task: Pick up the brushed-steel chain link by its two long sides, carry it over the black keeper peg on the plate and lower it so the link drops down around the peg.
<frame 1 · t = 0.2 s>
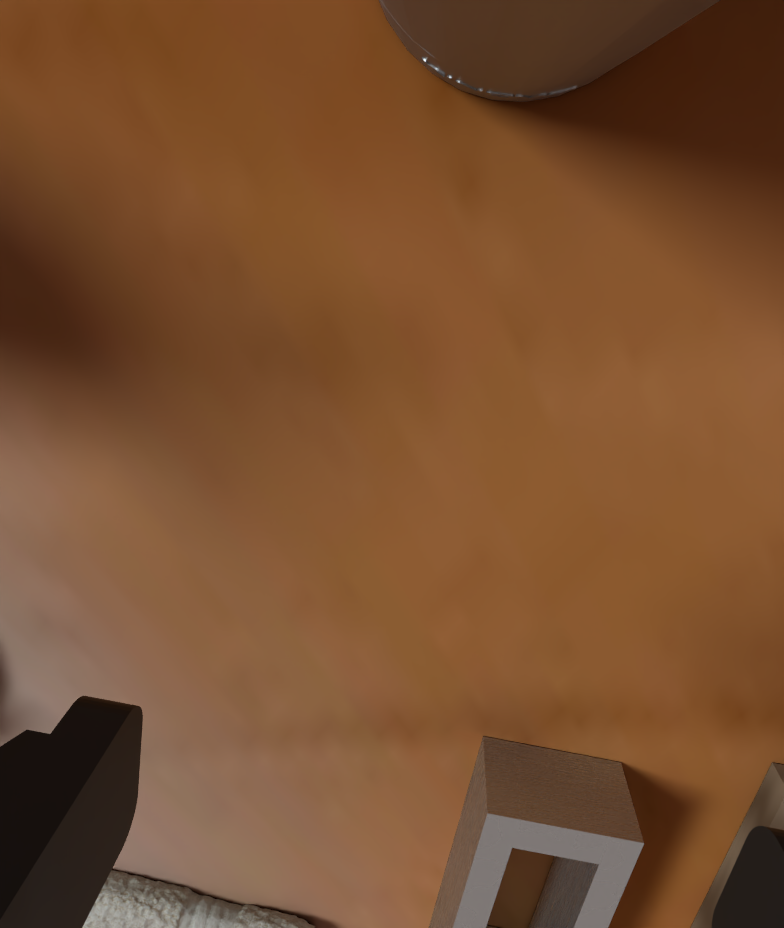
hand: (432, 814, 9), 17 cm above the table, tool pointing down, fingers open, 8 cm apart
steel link: (516, 855, 33), on the table
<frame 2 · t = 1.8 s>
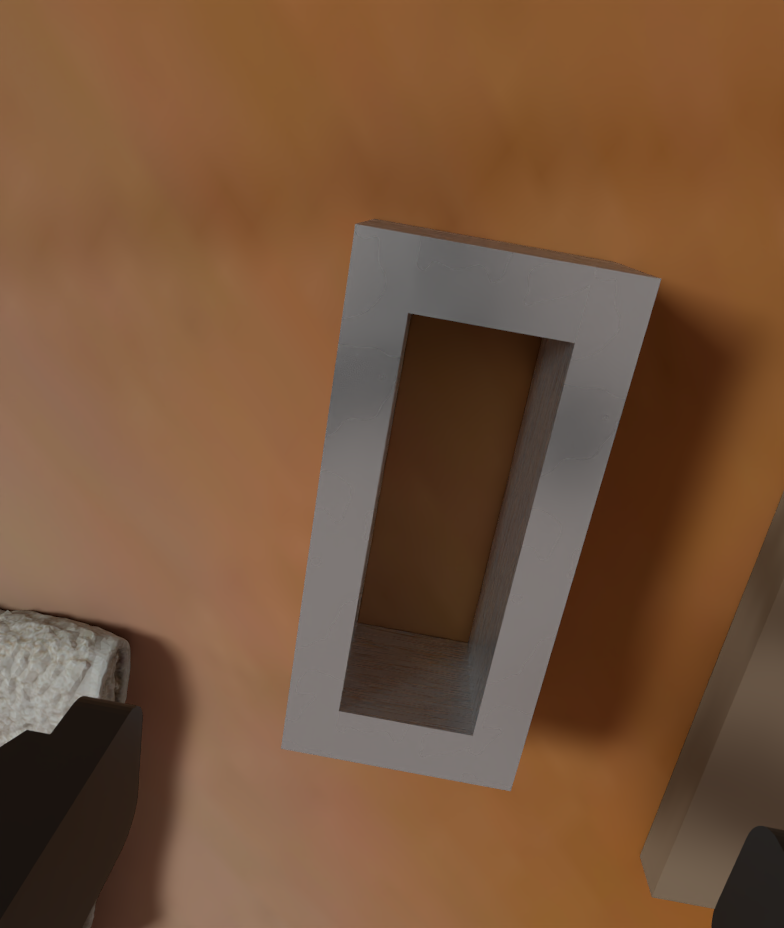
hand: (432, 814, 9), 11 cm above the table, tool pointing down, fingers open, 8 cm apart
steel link: (444, 481, 20), on the table
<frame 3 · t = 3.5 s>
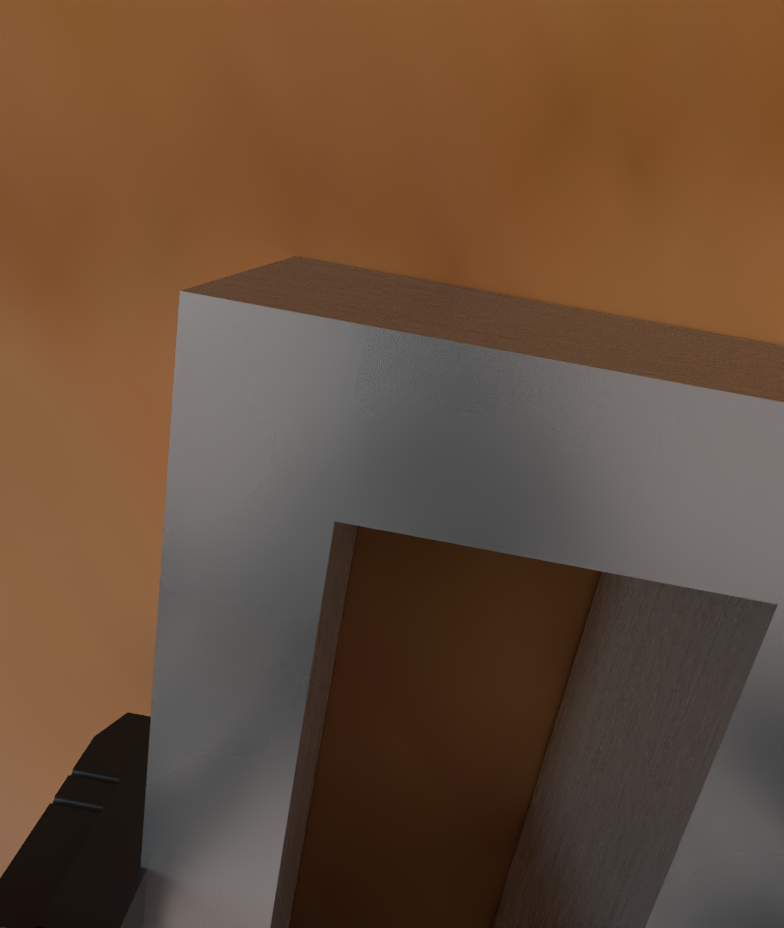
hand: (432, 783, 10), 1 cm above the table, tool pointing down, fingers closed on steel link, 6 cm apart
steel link: (436, 730, 11), on the table, touching gripper
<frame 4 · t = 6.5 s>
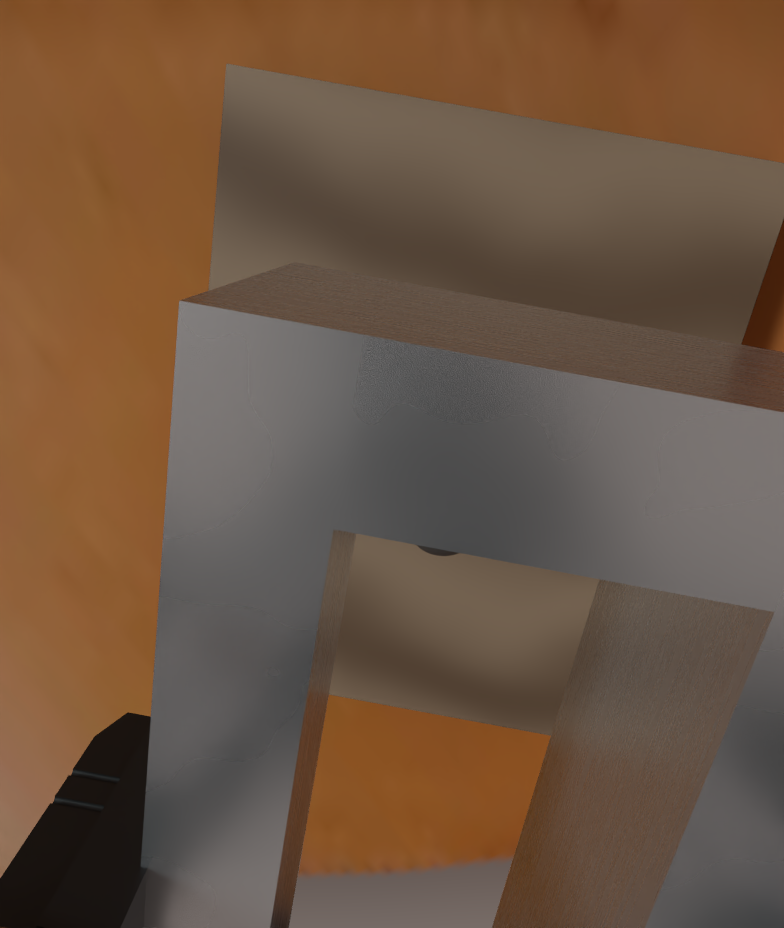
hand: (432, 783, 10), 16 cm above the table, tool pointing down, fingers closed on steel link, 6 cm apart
keeper plate: (443, 440, 24), on the table
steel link: (435, 733, 11), point 14 cm above the table, touching gripper
when the fingers open (4 cm above the table, at t = 9.5 s): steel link drops 1 cm, resting on keeper plate.
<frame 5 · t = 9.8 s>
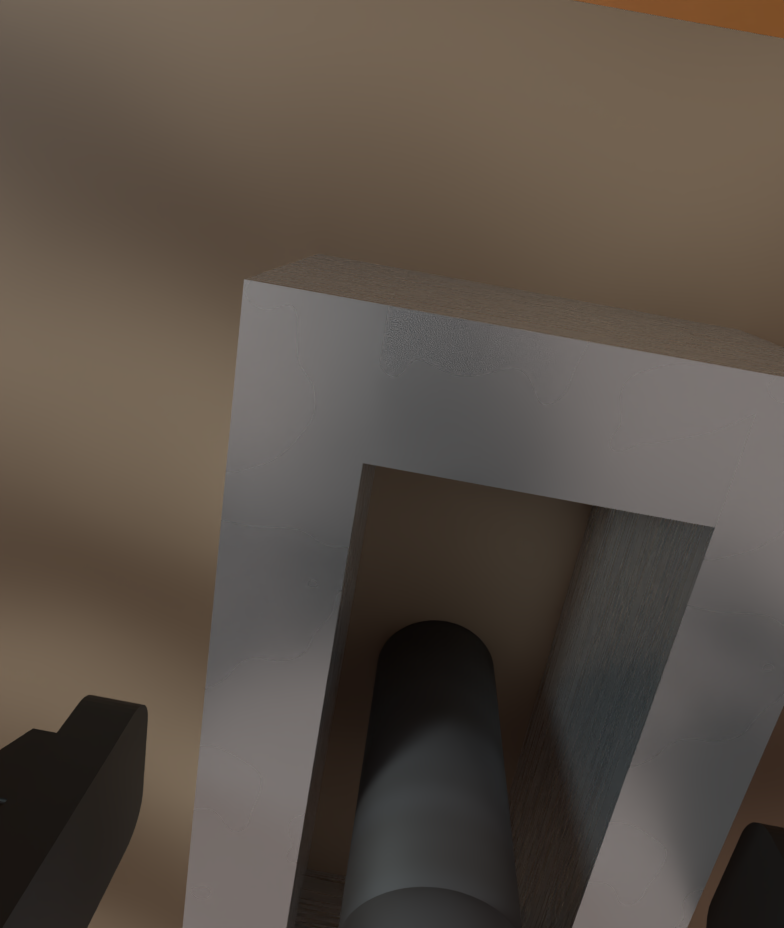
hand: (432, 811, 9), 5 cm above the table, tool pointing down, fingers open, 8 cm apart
keeper plate: (436, 623, 14), on the table
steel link: (440, 673, 12), point 1 cm above the table, touching keeper plate
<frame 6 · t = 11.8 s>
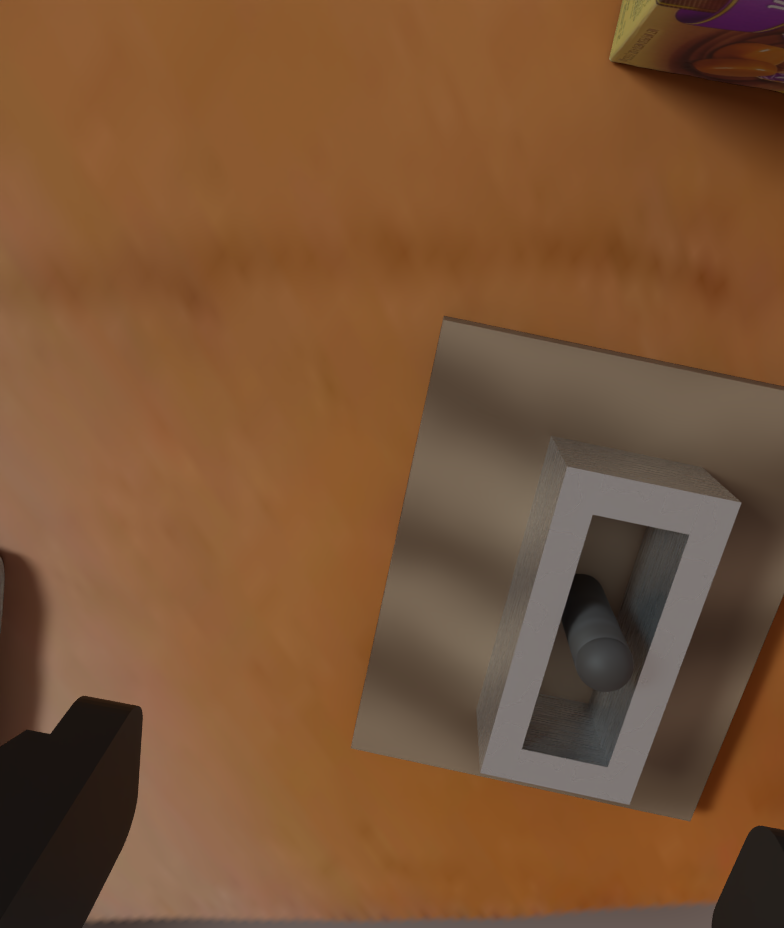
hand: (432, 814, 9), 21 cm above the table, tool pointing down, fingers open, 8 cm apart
candy box: (743, 19, 25), on the table
keeper plate: (573, 579, 31), on the table
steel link: (581, 596, 30), point 1 cm above the table, touching keeper plate
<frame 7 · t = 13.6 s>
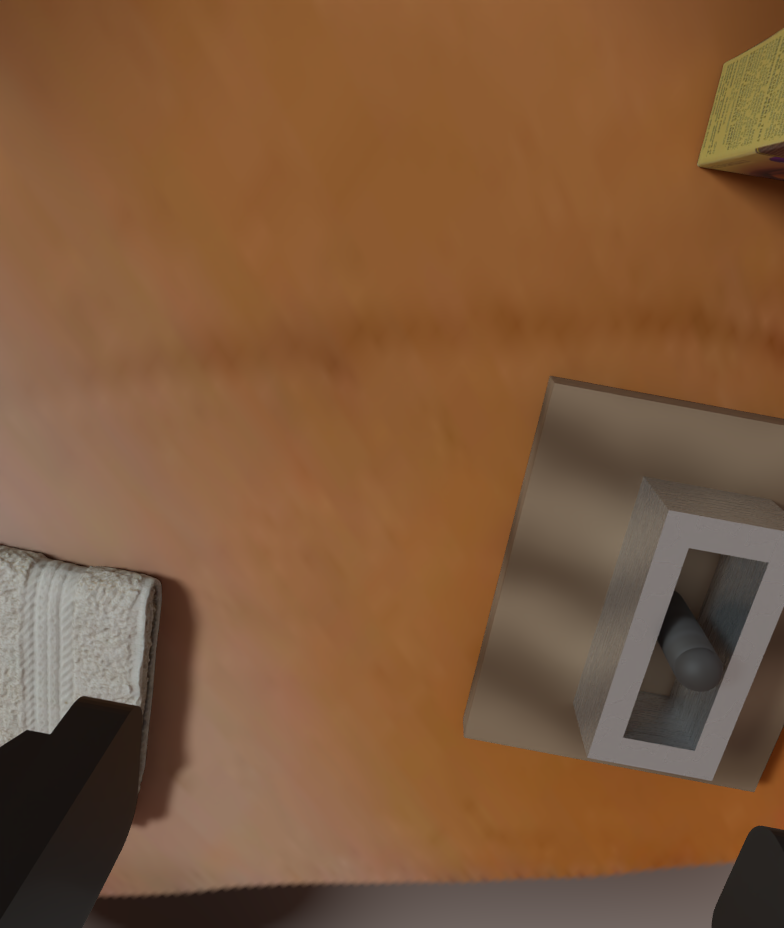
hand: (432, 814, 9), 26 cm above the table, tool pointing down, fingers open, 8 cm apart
keeper plate: (655, 591, 37), on the table
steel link: (665, 607, 35), point 1 cm above the table, touching keeper plate
washcloth: (60, 678, 42), on the table
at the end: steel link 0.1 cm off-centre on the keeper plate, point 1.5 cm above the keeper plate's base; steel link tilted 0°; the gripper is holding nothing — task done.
